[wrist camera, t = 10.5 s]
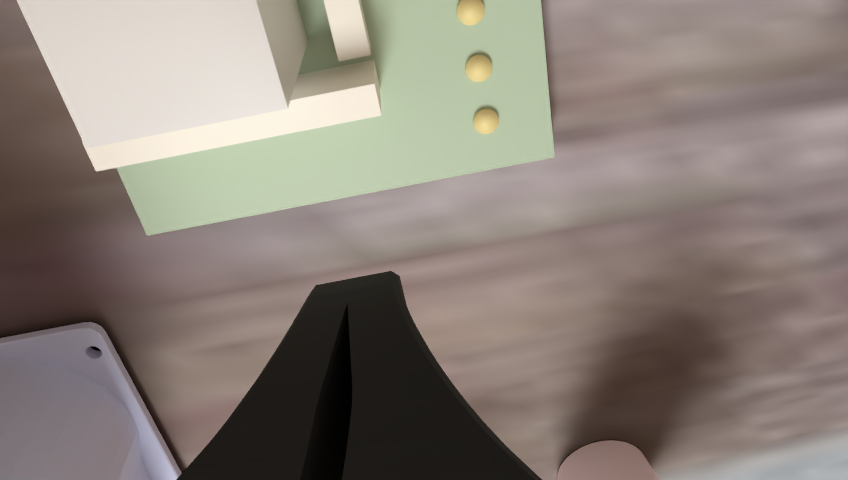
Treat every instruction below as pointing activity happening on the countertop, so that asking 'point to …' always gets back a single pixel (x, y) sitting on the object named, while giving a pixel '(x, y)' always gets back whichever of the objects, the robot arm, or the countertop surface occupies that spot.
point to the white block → (167, 61)
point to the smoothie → (606, 463)
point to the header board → (359, 114)
